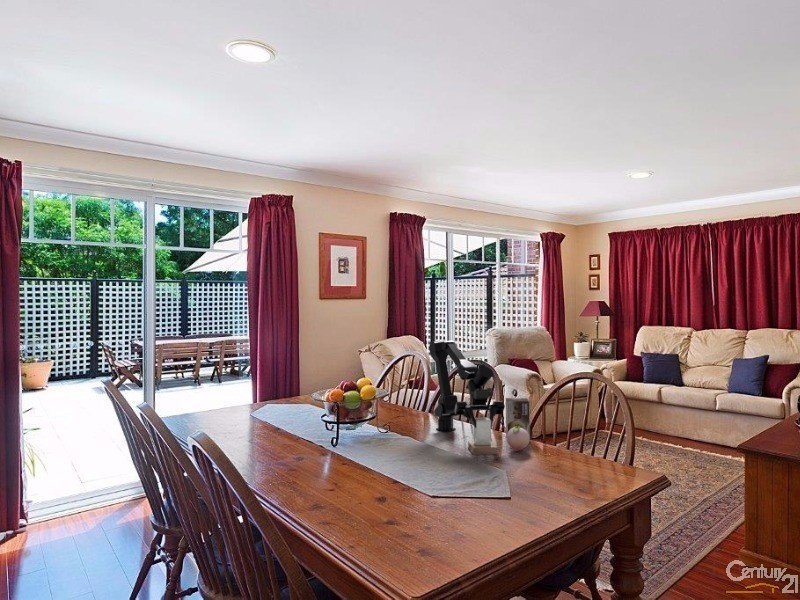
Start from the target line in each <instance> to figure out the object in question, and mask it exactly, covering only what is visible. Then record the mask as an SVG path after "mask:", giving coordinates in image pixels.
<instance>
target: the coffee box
mask: <svg viewBox="0 0 800 600" xmlns="http://www.w3.org/2000/svg"><path fill="white" fill-rule="evenodd" d="M517 425H518V426H520V427H521V428H523V429H525V430H526V431H527V432H528V434H529V441H531V439H530V438H531V437H530V436H531V435H530V434H531V433H530V432H531V430H530V401H529V399H528V398H525V397H507V398H506V397H505V437H506V438H507V434H508V431H509V430H510V429H511V428H514V427H515V426H517Z"/></svg>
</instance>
